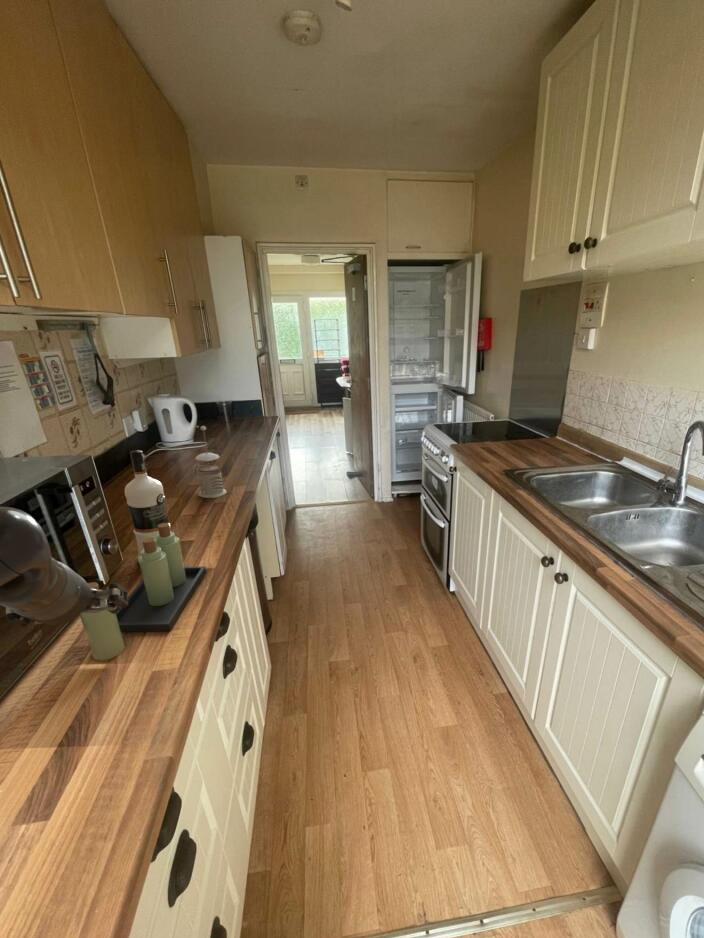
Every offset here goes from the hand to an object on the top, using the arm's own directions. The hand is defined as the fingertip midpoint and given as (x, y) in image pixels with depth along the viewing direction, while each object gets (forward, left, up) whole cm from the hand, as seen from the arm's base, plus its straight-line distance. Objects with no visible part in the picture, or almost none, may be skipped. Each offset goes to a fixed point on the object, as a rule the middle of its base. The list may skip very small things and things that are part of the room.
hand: (85, 613), depth 71 cm
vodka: (-7, +40, -13) cm, 43 cm away
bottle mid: (+1, +22, -13) cm, 25 cm away
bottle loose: (-2, +6, -13) cm, 15 cm away
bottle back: (+1, +30, -13) cm, 32 cm away
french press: (-9, +90, -13) cm, 92 cm away
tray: (+1, +22, -13) cm, 26 cm away
